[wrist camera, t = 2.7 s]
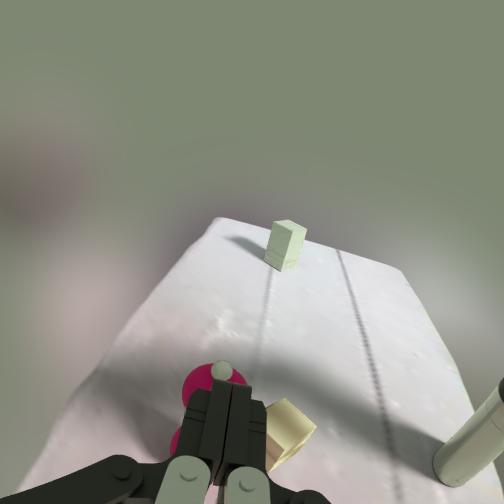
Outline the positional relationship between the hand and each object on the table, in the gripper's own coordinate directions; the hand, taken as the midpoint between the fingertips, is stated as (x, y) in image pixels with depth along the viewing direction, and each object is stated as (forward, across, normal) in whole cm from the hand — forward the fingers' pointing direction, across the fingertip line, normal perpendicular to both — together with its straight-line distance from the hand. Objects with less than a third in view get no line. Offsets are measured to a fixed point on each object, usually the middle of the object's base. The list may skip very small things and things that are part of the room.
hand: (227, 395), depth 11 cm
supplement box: (+76, -12, +28) cm, 82 cm away
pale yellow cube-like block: (+15, -9, +28) cm, 33 cm away
